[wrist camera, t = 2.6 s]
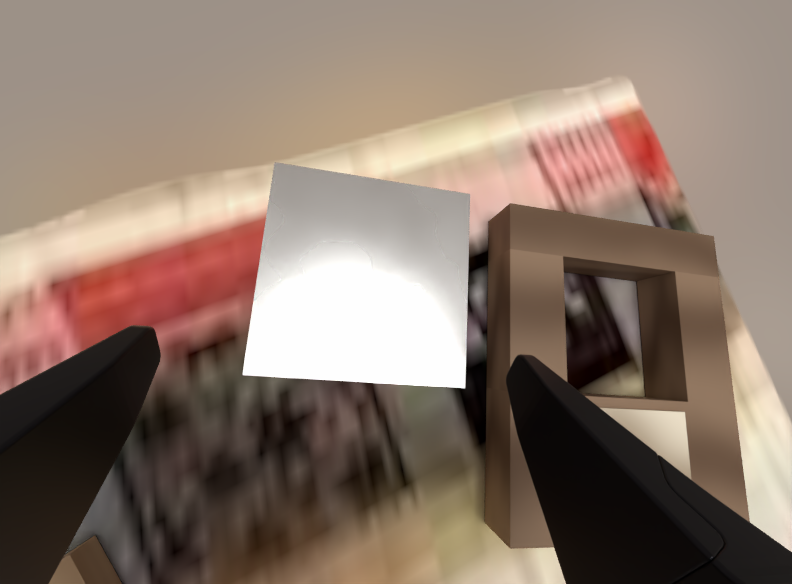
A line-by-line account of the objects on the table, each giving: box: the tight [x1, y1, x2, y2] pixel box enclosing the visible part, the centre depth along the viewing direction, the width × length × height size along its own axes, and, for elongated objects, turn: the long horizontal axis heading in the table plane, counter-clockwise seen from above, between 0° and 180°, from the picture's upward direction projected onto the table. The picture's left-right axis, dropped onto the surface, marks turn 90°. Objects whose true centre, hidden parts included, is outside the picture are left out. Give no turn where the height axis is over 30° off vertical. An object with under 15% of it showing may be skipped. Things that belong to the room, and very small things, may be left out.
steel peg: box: [242, 162, 470, 388], centre depth 13 cm, size 4×4×11 cm
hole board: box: [485, 203, 750, 548], centre depth 19 cm, size 16×13×3 cm
